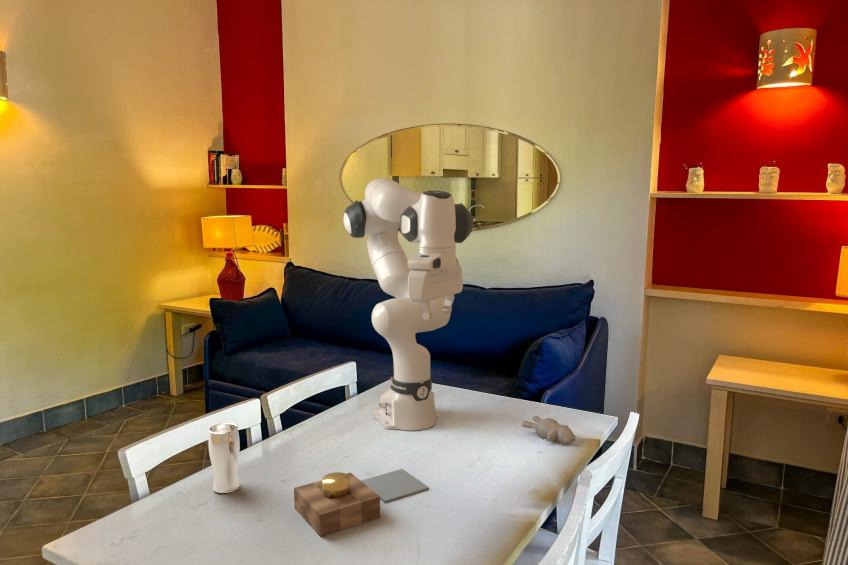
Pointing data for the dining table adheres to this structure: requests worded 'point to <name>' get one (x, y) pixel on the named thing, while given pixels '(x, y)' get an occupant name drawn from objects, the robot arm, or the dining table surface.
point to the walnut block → (336, 506)
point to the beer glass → (224, 456)
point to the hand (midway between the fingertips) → (437, 315)
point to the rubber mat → (394, 485)
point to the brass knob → (336, 485)
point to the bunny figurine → (551, 430)
